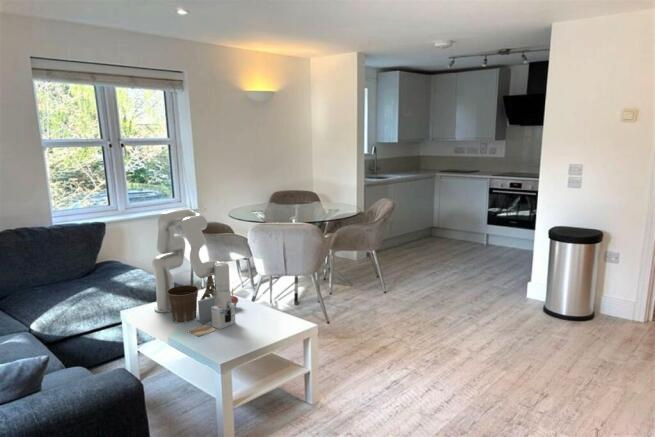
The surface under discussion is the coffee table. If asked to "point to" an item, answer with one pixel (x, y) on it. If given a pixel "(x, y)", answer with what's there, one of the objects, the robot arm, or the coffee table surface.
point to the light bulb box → (221, 317)
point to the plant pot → (183, 302)
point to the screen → (205, 310)
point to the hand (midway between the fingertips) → (223, 319)
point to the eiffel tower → (208, 290)
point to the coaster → (201, 330)
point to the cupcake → (234, 299)
